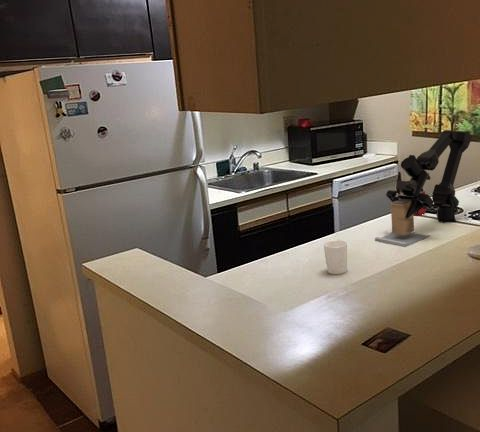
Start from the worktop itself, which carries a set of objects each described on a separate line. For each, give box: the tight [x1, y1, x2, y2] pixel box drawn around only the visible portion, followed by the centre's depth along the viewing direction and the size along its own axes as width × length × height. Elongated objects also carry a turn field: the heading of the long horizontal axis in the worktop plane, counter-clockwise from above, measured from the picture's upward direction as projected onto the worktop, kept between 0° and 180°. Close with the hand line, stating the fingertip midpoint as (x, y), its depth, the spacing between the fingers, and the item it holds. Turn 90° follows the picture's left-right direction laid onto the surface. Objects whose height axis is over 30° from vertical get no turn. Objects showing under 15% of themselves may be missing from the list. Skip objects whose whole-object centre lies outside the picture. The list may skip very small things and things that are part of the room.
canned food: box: [414, 188, 426, 217], centre depth 249 cm, size 8×8×11 cm
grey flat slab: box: [374, 232, 430, 248], centre depth 218 cm, size 16×14×1 cm
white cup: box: [323, 239, 348, 275], centre depth 191 cm, size 8×8×10 cm
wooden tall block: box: [390, 199, 415, 235], centre depth 216 cm, size 6×6×13 cm
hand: (400, 216), depth 216 cm, fingers closed on wooden tall block, 5 cm apart
